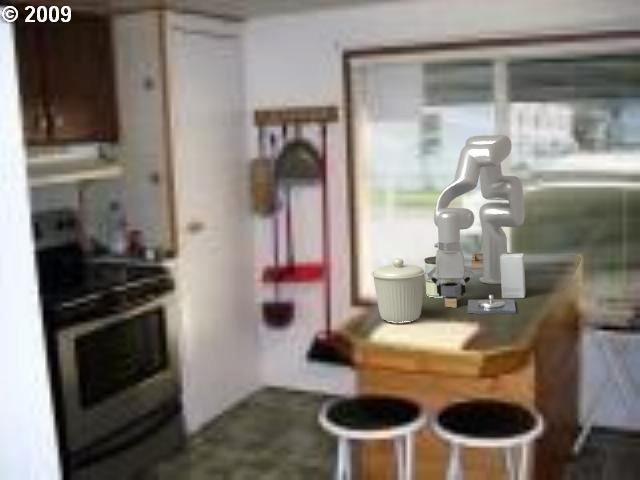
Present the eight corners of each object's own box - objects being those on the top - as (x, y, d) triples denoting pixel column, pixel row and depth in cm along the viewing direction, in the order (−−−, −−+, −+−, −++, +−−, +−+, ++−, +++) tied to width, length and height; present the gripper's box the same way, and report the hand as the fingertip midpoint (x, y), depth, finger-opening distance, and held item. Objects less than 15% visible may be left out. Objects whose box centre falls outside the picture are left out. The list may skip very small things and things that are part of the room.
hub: (468, 302, 285) (468, 290, 285) (514, 302, 282) (513, 289, 281) (467, 313, 270) (467, 300, 269) (515, 313, 266) (515, 300, 266)
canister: (413, 329, 254) (411, 264, 251) (364, 324, 264) (361, 262, 261) (436, 315, 269) (434, 254, 266) (388, 311, 279) (386, 252, 276)
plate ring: (441, 291, 287) (441, 282, 286) (461, 291, 285) (461, 282, 284) (440, 296, 280) (440, 287, 279) (461, 296, 278) (460, 286, 278)
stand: (445, 303, 286) (445, 291, 285) (457, 303, 285) (456, 291, 285) (445, 307, 280) (444, 295, 279) (456, 307, 279) (456, 295, 278)
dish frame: (472, 260, 365) (472, 253, 364) (515, 259, 361) (515, 252, 360) (471, 268, 345) (471, 261, 344) (517, 268, 341) (517, 261, 340)
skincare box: (525, 294, 292) (525, 253, 290) (524, 298, 286) (523, 256, 284) (502, 294, 295) (501, 253, 293) (500, 298, 289) (499, 256, 287)
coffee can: (430, 291, 306) (428, 255, 304) (456, 292, 302) (455, 256, 299) (422, 297, 297) (420, 260, 294) (449, 299, 292) (447, 261, 290)
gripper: (423, 249, 278) (426, 298, 281) (474, 247, 274) (476, 297, 277) (425, 245, 285) (427, 293, 288) (474, 243, 281) (476, 292, 284)
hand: (451, 295), depth 282 cm, fingers closed on plate ring, 7 cm apart
